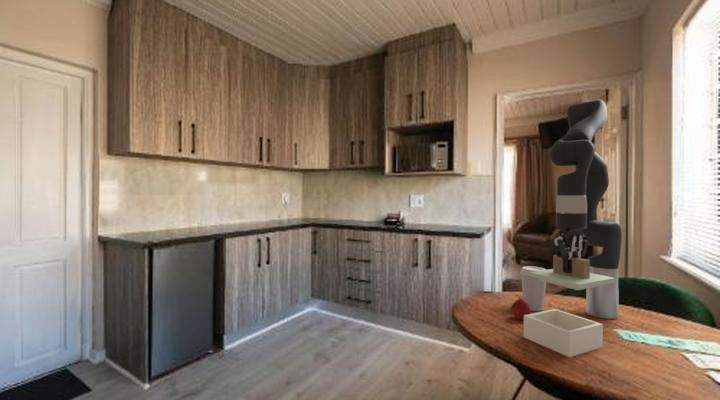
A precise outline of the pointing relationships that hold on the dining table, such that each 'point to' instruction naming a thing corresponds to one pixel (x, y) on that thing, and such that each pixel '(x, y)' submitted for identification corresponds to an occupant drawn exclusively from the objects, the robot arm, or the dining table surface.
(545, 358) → the dining table surface
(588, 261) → the lid
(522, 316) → the onion
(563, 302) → the dining table surface
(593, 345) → the box
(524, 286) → the coffee cup
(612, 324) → the dining table surface
